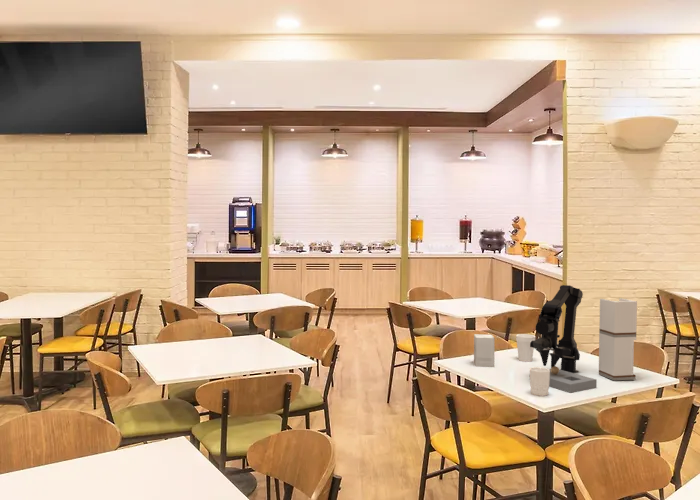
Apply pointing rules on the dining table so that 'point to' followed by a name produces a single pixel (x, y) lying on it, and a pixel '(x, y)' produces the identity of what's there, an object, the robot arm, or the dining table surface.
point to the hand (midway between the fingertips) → (548, 367)
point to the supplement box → (483, 350)
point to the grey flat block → (571, 381)
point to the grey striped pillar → (617, 338)
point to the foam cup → (525, 347)
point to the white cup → (539, 381)
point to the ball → (555, 370)
